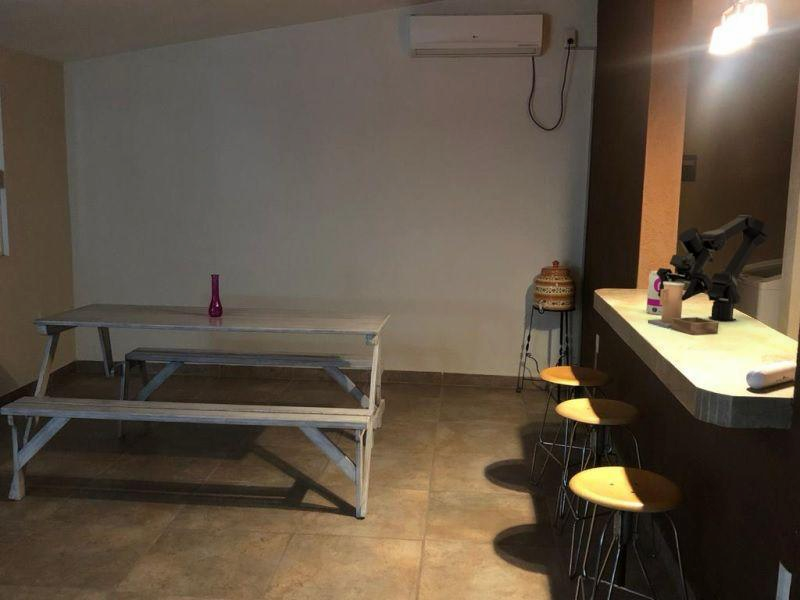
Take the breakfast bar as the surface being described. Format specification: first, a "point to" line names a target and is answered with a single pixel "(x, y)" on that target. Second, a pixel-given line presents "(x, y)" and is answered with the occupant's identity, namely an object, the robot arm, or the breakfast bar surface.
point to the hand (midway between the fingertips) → (670, 297)
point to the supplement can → (654, 294)
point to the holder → (694, 325)
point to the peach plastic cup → (671, 300)
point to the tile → (660, 323)
